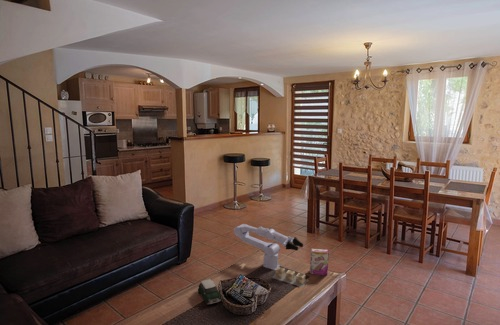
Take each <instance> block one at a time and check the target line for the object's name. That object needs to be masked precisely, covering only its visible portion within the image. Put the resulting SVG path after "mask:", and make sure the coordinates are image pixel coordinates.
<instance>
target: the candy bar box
mask: <svg viewBox="0 0 500 325" xmlns="http://www.w3.org/2000/svg"><path fill="white" fill-rule="evenodd" d="M329 254H330V253H329V249H321V248H311V249H310V261H309V274H310V275H319V276H328V270H329V269H328V266H329Z"/></svg>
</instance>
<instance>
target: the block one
mask: <svg viewBox="0 0 500 325" xmlns="http://www.w3.org/2000/svg"><path fill="white" fill-rule="evenodd" d="M285 273H286V269H285V268H284V267H280V266H279V267H278V268H277V269H276V270H275V274H276V277H279V278H283V277H284V275H285Z"/></svg>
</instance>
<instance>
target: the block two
mask: <svg viewBox="0 0 500 325" xmlns="http://www.w3.org/2000/svg"><path fill="white" fill-rule="evenodd" d="M295 276H296V283H299V284H302V285H303V283H304V282H305V279H306V274H305V273H302V272H298V273H297V274H295Z"/></svg>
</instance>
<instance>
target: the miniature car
mask: <svg viewBox="0 0 500 325" xmlns="http://www.w3.org/2000/svg"><path fill="white" fill-rule="evenodd" d="M197 291H198V294H199V295H200V296H201V298H202V299H203V301H204V303H205V305H206V306H208V305H212V304H216V303H221V302H222V301H221V299H222V297H221V298H220V295H221V293H220V292H219V289H218V287H217V284H216V283H215V282H214V280H213V279H210V278H209V279H204V280H201V281H200V283H199V285H198V288H197ZM219 293H220V294H219Z"/></svg>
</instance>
